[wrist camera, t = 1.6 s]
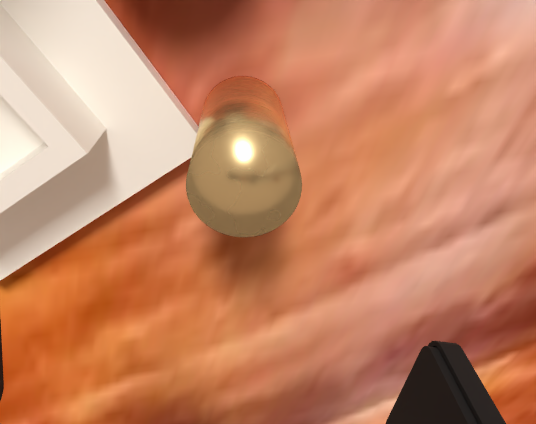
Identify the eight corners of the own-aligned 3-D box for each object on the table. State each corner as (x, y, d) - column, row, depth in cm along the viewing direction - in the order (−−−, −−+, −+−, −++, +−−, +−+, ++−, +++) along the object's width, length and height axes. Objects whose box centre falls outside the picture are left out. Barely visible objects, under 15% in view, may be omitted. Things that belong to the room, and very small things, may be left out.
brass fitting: (298, 127, 27) (322, 201, 19) (232, 168, 28) (229, 255, 20) (254, 59, 25) (261, 109, 17) (186, 105, 26) (162, 173, 18)
